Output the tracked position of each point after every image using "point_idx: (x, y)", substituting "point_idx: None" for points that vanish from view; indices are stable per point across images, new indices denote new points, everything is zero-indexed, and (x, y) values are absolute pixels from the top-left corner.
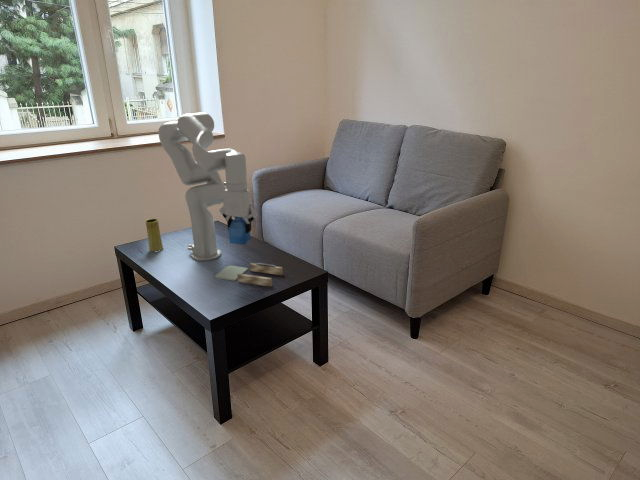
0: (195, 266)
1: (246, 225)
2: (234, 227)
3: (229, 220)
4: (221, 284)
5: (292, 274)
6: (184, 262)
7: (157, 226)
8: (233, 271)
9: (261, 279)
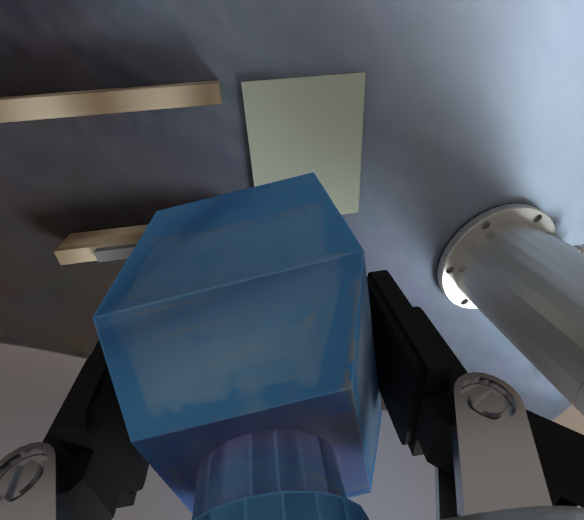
0: (504, 151)
1: (68, 402)
2: (269, 293)
3: (436, 402)
4: (284, 4)
5: (32, 261)
6: (565, 166)
7: None
8: (302, 166)
9: (47, 95)
